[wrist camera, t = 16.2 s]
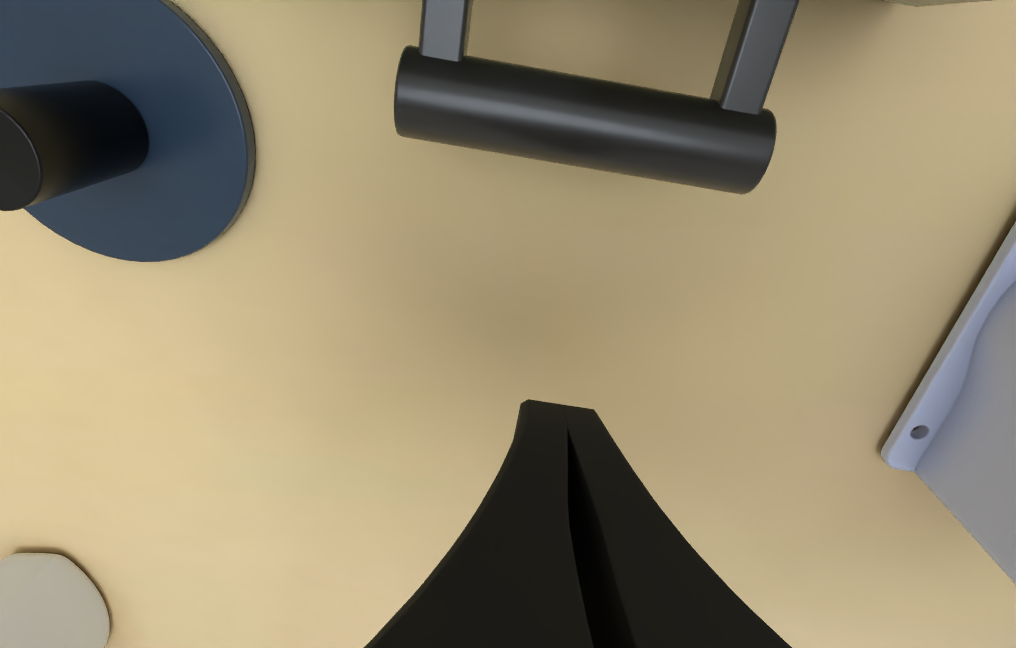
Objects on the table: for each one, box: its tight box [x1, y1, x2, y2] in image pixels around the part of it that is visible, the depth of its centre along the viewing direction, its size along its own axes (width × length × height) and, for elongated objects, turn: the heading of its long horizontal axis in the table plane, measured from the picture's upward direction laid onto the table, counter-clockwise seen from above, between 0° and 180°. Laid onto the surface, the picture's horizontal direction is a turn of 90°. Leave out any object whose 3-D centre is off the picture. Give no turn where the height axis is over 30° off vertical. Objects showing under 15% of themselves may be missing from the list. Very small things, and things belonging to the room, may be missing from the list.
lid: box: [0, 0, 255, 262], centre depth 13 cm, size 7×7×4 cm
